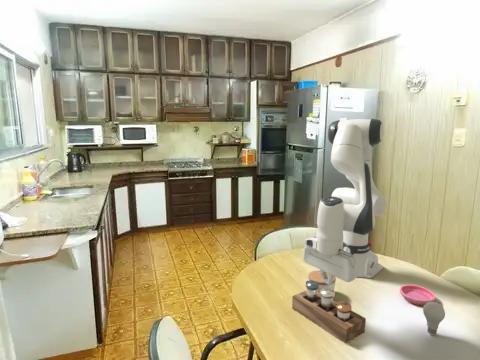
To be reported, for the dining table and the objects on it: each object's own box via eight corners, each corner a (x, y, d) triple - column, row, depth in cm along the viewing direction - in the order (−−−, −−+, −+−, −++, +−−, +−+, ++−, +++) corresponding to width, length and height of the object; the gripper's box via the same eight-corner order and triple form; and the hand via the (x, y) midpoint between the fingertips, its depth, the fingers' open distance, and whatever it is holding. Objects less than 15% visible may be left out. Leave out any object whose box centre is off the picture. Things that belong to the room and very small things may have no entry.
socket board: (310, 300, 125) (311, 288, 124) (364, 332, 105) (365, 318, 105) (292, 308, 120) (292, 296, 119) (345, 343, 100) (346, 329, 99)
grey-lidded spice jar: (311, 294, 121) (312, 279, 120) (321, 300, 117) (321, 284, 116) (302, 298, 118) (302, 282, 117) (312, 304, 114) (312, 288, 113)
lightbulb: (416, 329, 107) (419, 298, 105) (434, 327, 108) (437, 297, 106) (429, 340, 101) (432, 309, 99) (447, 339, 102) (450, 308, 100)
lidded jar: (302, 292, 131) (302, 271, 129) (319, 285, 137) (319, 264, 136) (323, 304, 122) (324, 281, 121) (340, 295, 129) (341, 273, 127)
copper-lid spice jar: (341, 316, 110) (342, 300, 109) (353, 323, 106) (354, 306, 105) (332, 321, 107) (333, 304, 106) (344, 328, 103) (345, 311, 102)
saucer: (434, 295, 128) (434, 288, 128) (436, 311, 117) (436, 303, 117) (399, 288, 134) (400, 281, 133) (398, 303, 123) (399, 295, 123)
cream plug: (326, 302, 115) (326, 286, 114) (336, 308, 111) (337, 292, 110) (316, 306, 112) (317, 290, 111) (327, 313, 108) (328, 296, 107)
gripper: (361, 253, 101) (359, 293, 103) (313, 235, 118) (311, 270, 120) (349, 257, 98) (346, 299, 100) (301, 238, 114) (299, 274, 116)
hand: (327, 283), depth 110 cm, fingers closed
